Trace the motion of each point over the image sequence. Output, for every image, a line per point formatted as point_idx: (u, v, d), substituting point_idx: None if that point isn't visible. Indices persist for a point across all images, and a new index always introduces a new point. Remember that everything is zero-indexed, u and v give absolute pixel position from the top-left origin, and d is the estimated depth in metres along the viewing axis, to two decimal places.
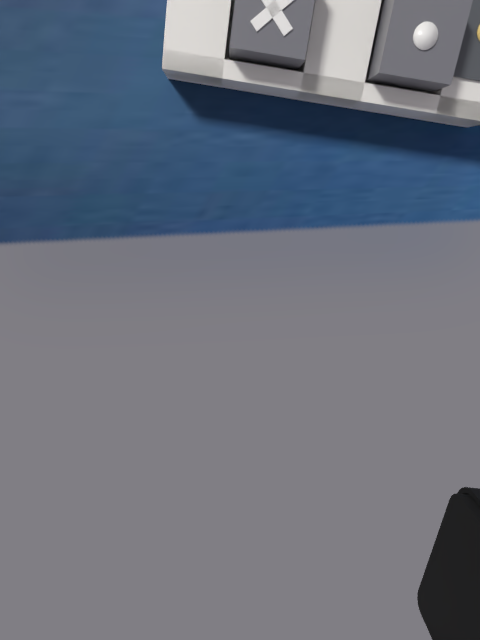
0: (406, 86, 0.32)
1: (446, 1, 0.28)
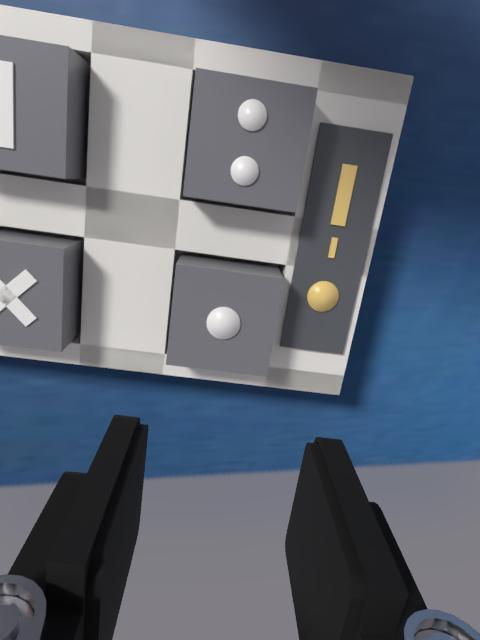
0: None
1: (247, 282, 0.21)
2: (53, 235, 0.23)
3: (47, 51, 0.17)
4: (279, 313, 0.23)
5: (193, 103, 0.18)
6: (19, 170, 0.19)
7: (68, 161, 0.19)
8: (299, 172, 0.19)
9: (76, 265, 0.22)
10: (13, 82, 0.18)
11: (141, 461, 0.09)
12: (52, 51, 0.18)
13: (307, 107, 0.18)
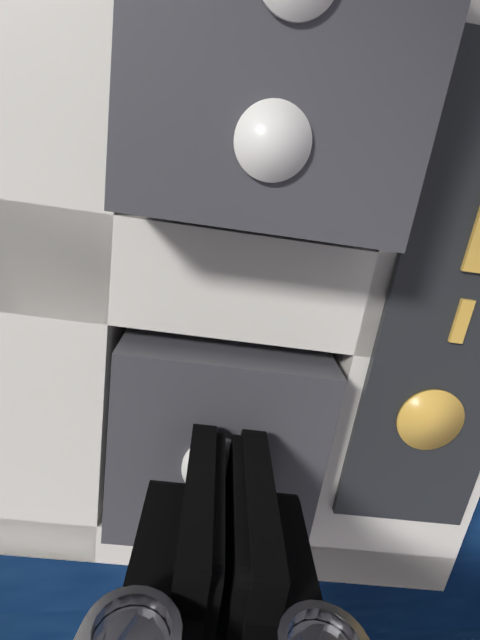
0: None
1: (268, 389, 0.10)
2: None
3: None
4: (334, 450, 0.11)
5: None
6: None
7: None
8: (422, 146, 0.07)
9: None
10: None
11: None
12: None
13: None
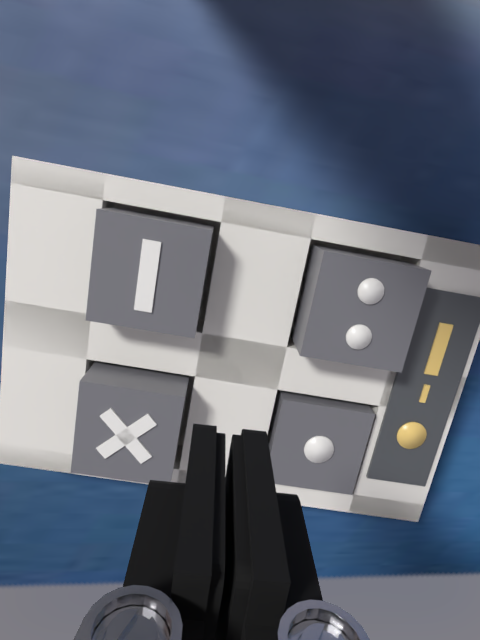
0: None
1: (343, 416, 0.24)
2: None
3: (193, 233, 0.19)
4: (368, 448, 0.25)
5: (318, 280, 0.20)
6: (154, 330, 0.20)
7: (197, 321, 0.21)
8: (408, 339, 0.21)
9: None
10: (159, 257, 0.20)
11: None
12: (197, 233, 0.19)
13: (420, 286, 0.20)
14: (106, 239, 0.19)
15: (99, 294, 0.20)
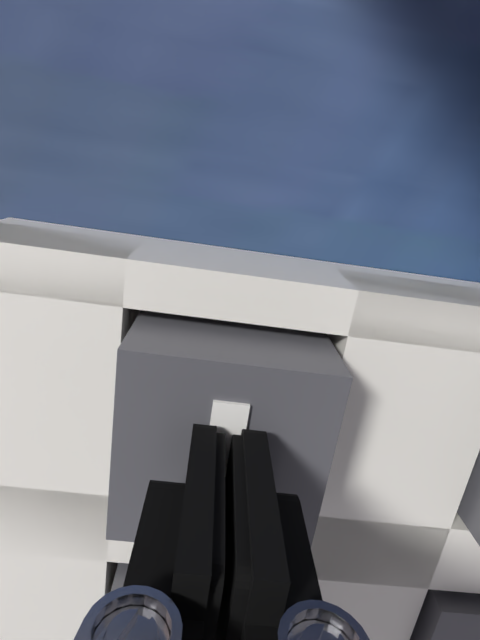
0: None
1: None
2: None
3: (314, 385, 0.10)
4: None
5: None
6: None
7: (311, 526, 0.11)
8: None
9: None
10: None
11: None
12: (322, 385, 0.10)
13: None
14: (140, 404, 0.10)
15: (130, 497, 0.10)
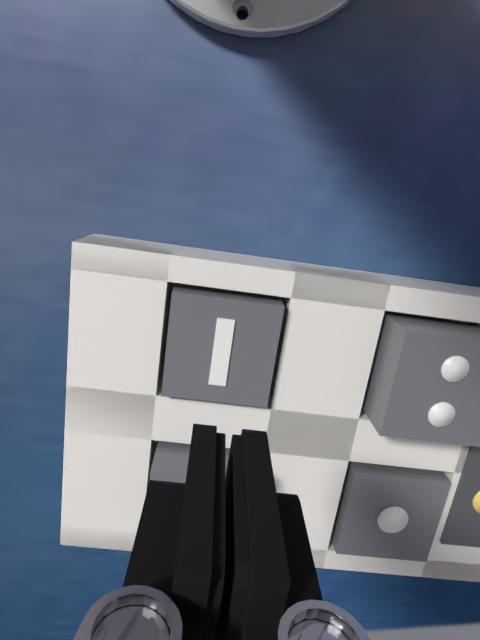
0: None
1: (417, 486, 0.23)
2: None
3: (266, 310, 0.20)
4: (442, 514, 0.24)
5: (400, 360, 0.19)
6: (227, 402, 0.21)
7: (268, 391, 0.21)
8: None
9: None
10: (232, 334, 0.20)
11: None
12: (270, 310, 0.20)
13: None
14: (181, 319, 0.20)
15: (174, 371, 0.20)
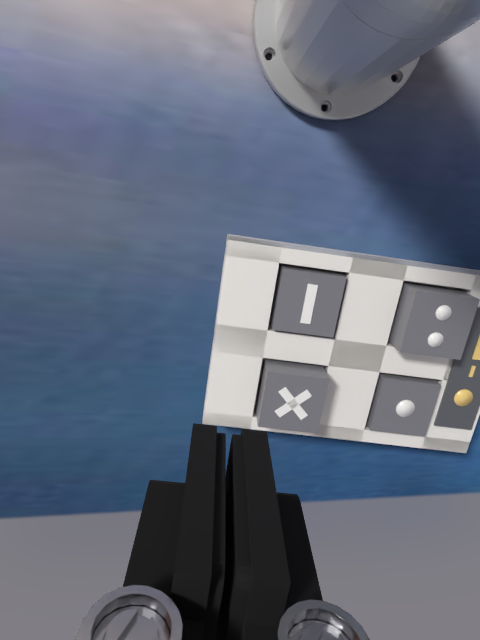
0: None
1: (420, 387, 0.38)
2: None
3: (335, 279, 0.35)
4: (435, 406, 0.39)
5: (412, 307, 0.34)
6: (310, 333, 0.36)
7: (334, 328, 0.36)
8: (464, 339, 0.35)
9: None
10: (316, 293, 0.35)
11: None
12: (338, 279, 0.35)
13: (473, 308, 0.34)
14: (287, 284, 0.35)
15: (281, 315, 0.35)
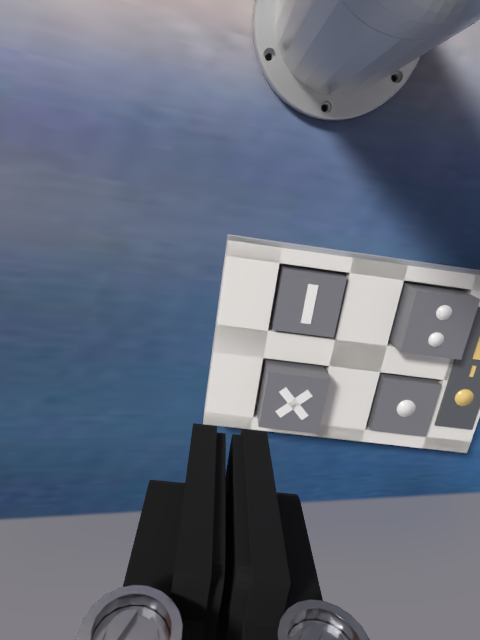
0: None
1: (421, 387, 0.38)
2: None
3: (336, 279, 0.35)
4: (436, 406, 0.39)
5: (413, 307, 0.34)
6: (311, 334, 0.36)
7: (334, 328, 0.36)
8: (465, 339, 0.35)
9: None
10: (316, 293, 0.35)
11: None
12: (338, 279, 0.35)
13: (473, 308, 0.34)
14: (287, 284, 0.35)
15: (281, 315, 0.35)
